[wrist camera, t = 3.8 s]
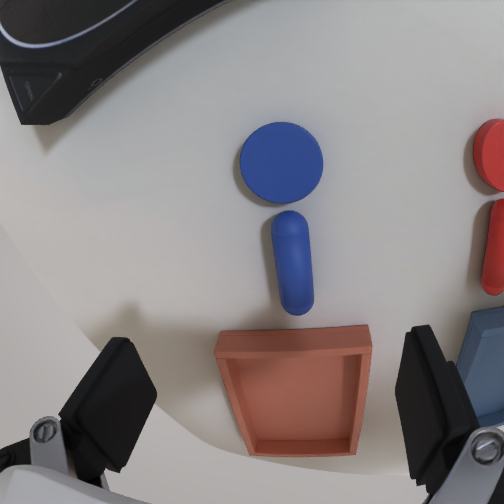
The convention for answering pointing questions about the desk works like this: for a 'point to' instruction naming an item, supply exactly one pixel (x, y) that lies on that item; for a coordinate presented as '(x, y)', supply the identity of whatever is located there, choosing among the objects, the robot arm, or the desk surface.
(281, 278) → the blue spoon
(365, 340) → the terracotta tray
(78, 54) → the portable cd player
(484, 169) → the red disc and rod
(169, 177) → the desk surface
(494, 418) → the blue-grey tray
